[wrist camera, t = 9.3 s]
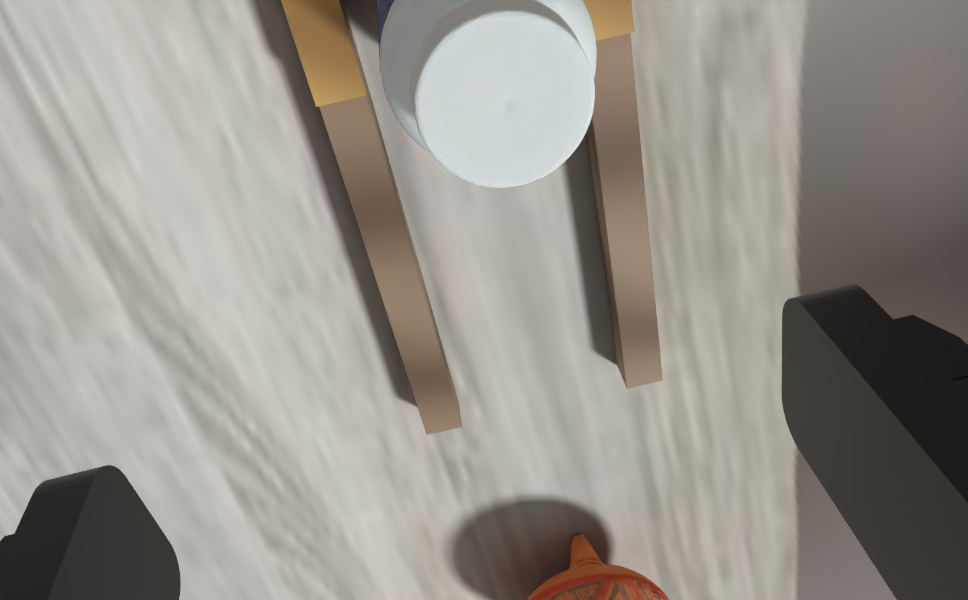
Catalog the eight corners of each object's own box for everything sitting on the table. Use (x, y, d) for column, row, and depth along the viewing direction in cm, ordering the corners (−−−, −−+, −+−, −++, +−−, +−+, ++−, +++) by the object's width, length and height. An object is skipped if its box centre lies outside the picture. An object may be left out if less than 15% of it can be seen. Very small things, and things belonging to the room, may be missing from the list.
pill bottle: (421, 111, 27) (443, 252, 19) (346, -44, 24) (334, 43, 16) (569, 44, 26) (657, 160, 18) (510, -124, 23) (584, -75, 15)
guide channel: (235, -172, 22) (221, -166, 20) (591, -257, 22) (614, -261, 20) (423, 411, 34) (427, 452, 32) (652, 358, 34) (671, 395, 32)
